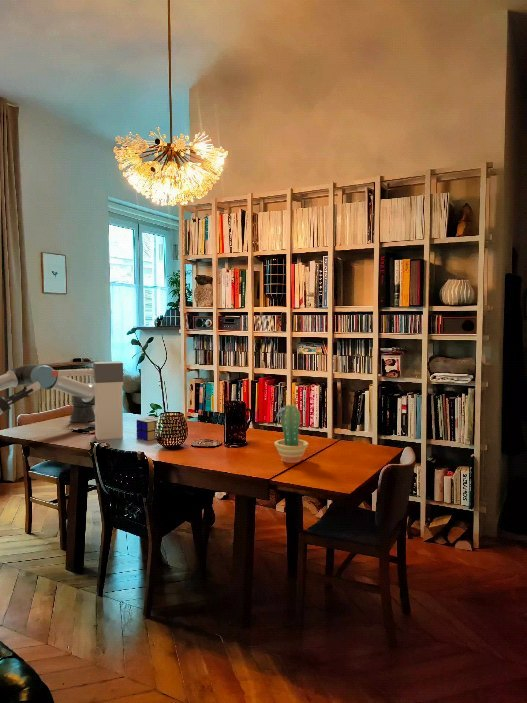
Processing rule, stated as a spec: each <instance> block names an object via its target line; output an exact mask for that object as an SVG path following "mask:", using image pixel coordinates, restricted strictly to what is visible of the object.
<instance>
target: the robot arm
mask: <svg viewBox="0 0 527 703" xmlns="http://www.w3.org/2000/svg"><path fill="white" fill-rule="evenodd" d="M52 370H55V369H54V368H53V367H51V366H49V365H45V364H29V363H28V364H24V365H20V366H18V367H15V368H12V369H9V370H8V371H6V373H4V374H1V375H0V392H1V391H4V390H6V389H9V388H12V387H13V388H17V387H21V386H23V389H20V391H17V392H16V393H13V394H11V395H9V396H8V397H7V399H6V398H5V397H4V396H1V397H0V416H1V415H2V414H4V413H6V412H8V411H10V410H11V409H12V408H11V405H14V404H15V403H17V402H18V401H20V400H23V399H24V398H28V397H29V395H31V394H33V393H35V392H36V391H38V390H40V389H43V390H46V391H50V390H52V389H53V390H55V391H59V392H62V393H63V394H64V393H65V394H66V395H70V396H72V410H71V415H70V417H69V419H70V420H69V421H70V422H71V423H79V422H80V423H89V422H88V421H91V422H94V421H93V420H95V409H94V406H95V384H94V383H92V382H88V383H87V382H86V383H83V382H80V381H78V380H75V379H73V378H70V377H68V376H60V377H52Z"/></svg>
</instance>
